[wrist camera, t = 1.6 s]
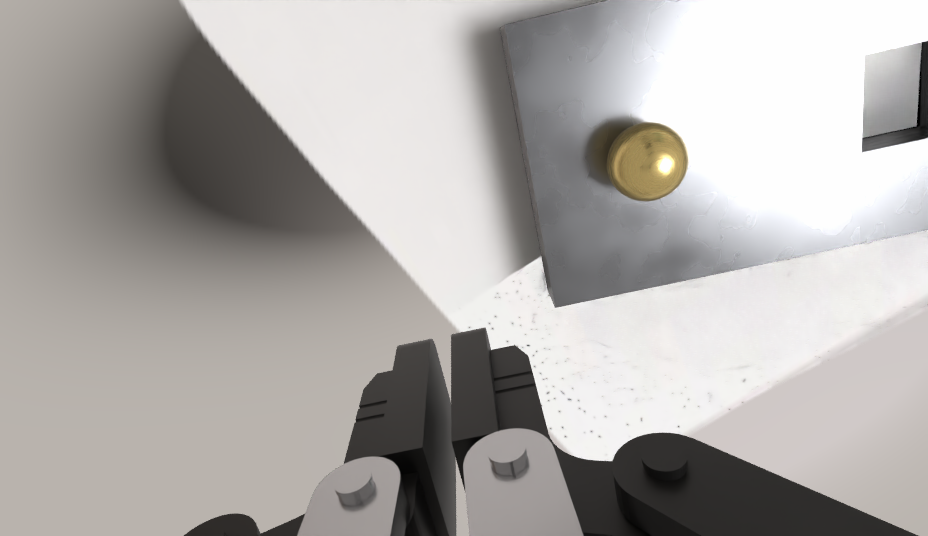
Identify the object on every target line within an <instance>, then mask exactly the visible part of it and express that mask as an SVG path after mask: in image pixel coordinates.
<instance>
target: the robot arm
mask: <svg viewBox="0 0 928 536" xmlns="http://www.w3.org/2000/svg"><path fill="white" fill-rule="evenodd" d="M359 407H360V409H358V412H357V416H356V423H355V424H354V428H353V431H352V435H351V439H350V442H349V446H348V450H347V453H346V457H345V461H344V464H343V465H341V466H340V467H338V468H336V469H335V470H333V471H332V472H331V473H329V474H328V475H327V476H326V477H325V478H324V479H323V480H322V481H321V482H320V483H319V485H318V486H317V487H316V489H315V491H314V493H313V495H312V497H311V500H310V503H309V505H308V508H307V511H306V513H305V514H303V515H301V516H299V517H297V518H296V519H293V520H291V521H289V522H287V523H284V524H282V525H280V526H277V527H275V528H273V529H270V530H268V531H266V532H264V533H261V534H260V532H259V529H258V527H257V525H256V523H255V522H254V520H253V519H252V518H250V517H249V516H246V515H243V514H227V515H222V516H219V517H216V518H214V519H211V520H209V521H206V522H204V523H202V524H201V525H199V526H197V527H195V528H194V529H192V530H191V531H189V532H188V533H187V534H185V535H184V536H456V465H455V457H456V460H457V464H458V467H459V471H460V475H461V478H462V482H463V485H464V489H465V493H466V503H467V514H468V524H469V536H918V535H915V534H913V533H911V532H908V531H906V530H904V529H901V528H899V527H897V526H894V525H892V524H890V523H888V522H885V521H883V520H881V519H878V518H876V517H874V516H871V515H869V514H867V513H864V512H862V511H860V510H857V509H855V508H853V507H850V506H848V505H846V504H844V503H841V502H839V501H837V500H834V499H832V498H830V497H827V496H825V495H823V494H820V493H818V492H815V491H813V490H811V489H809V488H807V487H804V486H802V485H800V484H797V483H795V482H792V481H790V480H788V479H785V478H783V477H781V476H779V475H776V474H774V473H772V472H769V471H767V470H765V469H763V468H760V467H758V466H756V465H753V464H751V463H749V462H746V461H744V460H742V459H739V458H737V457H735V456H732V455H730V454H728V453H725V452H723V451H721V450H719V449H716V448H714V447H712V446H709V445H707V444H705V443H702V442H700V441H697V440H695V439H693V438H690V437H687V436H684V435H680V434H674V433H651V434H646V435H642V436H639V437H636V438H634V439H632V440H630V441H628V442H627V443H625V444H624V445H623V446H622V447H621V448H620V449H619V450H618V451H617V453H616V454H615V456H614V459H613V462H612V461H594V460H586V459H581V458H577V457H574V456H571V455H569V454H567V453H565V452H563V451H562V450H560V449H559V448H558V447H557V446H556V445H555V444H554V443H553V442H552V440H551V439H550V436H549V434H548V430H547V426H546V422H545V419H544V415H543V411H542V407H541V403H540V399H539V396H538V392H537V388H536V384H535V380H534V376H533V373H532V369H531V365H530V361H529V357H528V355H526V354H525V353H524V352H523V351H521V350H520V349H519V348H518V347H516V346H515V345H514V346H509V347H504V348H499V349H494V350H491V348H490V344H489V339H488V335H487V331H486V328H480V329H476V330H471V331H466V332H461V333H456V334H452V335H451V402H450V398H449V394H448V391H447V387H446V384H445V379H444V376H443V372H442V368H441V365H440V361H439V358H438V353H437V350H436V347H435V344H434V341H433V339H428V340H423V341H418V342H413V343H409V344H404V345H399V346H398V347H397V350H396V356H395V361H394V366H393V370H392V371H388V372H383V373H378V374H376V375H375V377H374V378H373V379H372V380H371V381H370V383H369V384H368V385H367V386H366V387H365V388H364V390H363V394H362V397H361V401H360V405H359Z"/></svg>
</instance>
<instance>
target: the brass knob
mask: <svg viewBox="0 0 928 536" xmlns="http://www.w3.org/2000/svg"><path fill="white" fill-rule="evenodd" d="M688 164H689V155H688V150H687V146H686V144H685V142H684V140H683V139H682V137H681V136H680V135H679V134H678V133H677V132H676V131H675V130H674V129H672V128H671V127H669V126H667V125H664V124H661V123H656V122H644V123H639V124H636V125H633V126H631V127H629V128H627V129H626V130H624V131H623V132H622V133H621V134H620V135H619V136H618V137H617V138H616V139H615V140H614V142H613V143H612V145H611V147H610V149H609V152H608V156H607V171H608V175H609V178H610V180H611V182H612V184H613V185H614V187H615V188H616V189H617V190H618V191H619V192H620V193H621V194H623V195H624V196H626V197H628V198H630V199H633V200H637V201H654V200H658V199H661V198H663V197H665V196H667V195H669V194H670V193H672V192H673V191H674V190H675V189H676V188H677V187H678V186H679V185H680V184H681V182H682V181H683V179H684V177H685V175H686V173H687V169H688Z"/></svg>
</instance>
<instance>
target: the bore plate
mask: <svg viewBox="0 0 928 536" xmlns="http://www.w3.org/2000/svg"><path fill="white" fill-rule="evenodd" d="M500 31H501V37H502V42H503V48H504V53H505V59H506V64H507V70H508V75H509V81H510V86H511V92H512V97H513V103H514V108H515V114H516V119H517V125H518V130H519V136H520V141H521V147H522V152H523V158H524V163H525V169H526V174H527V180H528V185H529V190H530V196H531V201H532V207H533V212H534V218H535V223H536V229H537V234H538V240H539V245H540V251H541V256H542V262H543V267H544V273H545V278H546V284H547V289H548V292H549V294H550V296H551V299H552V301H553V304H554V306H555V308H556V307H561V306H566V305H571V304H575V303H580V302H585V301H590V300H595V299H599V298H604V297H609V296H614V295H619V294H623V293H628V292H633V291H638V290H643V289H647V288H652V287H657V286H662V285H666V284H671V283H676V282H681V281H686V280H690V279H695V278H700V277H705V276H710V275H714V274H719V273H724V272H729V271H734V270H738V269H743V268H748V267H753V266H758V265H762V264H767V263H772V262H777V261H781V260H786V259H791V258H796V257H801V256H805V255H810V254H815V253H820V252H825V251H829V250H834V249H839V248H844V247H849V246H853V245H858V244H863V243H868V242H873V241H877V240H882V239H887V238H892V237H896V236H901V235H906V234H911V233H916V232H920V231H925V230H928V0H607V1H602V2H598V3H594V4H590V5H586V6H581V7H577V8H573V9H569V10H565V11H560V12H556V13H552V14H548V15H544V16H539V17H535V18H531V19H527V20H523V21H518V22H514V23H510V24H506V25H504V26H502V27H501V28H500ZM920 42H922V47H921V63H920V79H919V95H918V111H917V126H915V127H911V128H906V129H901V130H897V131H892V132H888V133H883V134H879V135H874V136H869V137H865V138H862V126H863V91H864V57H865V55H867V54H872V53H876V52H880V51H885V50H889V49H894V48H898V47H902V46H907V45H911V44H916V43H920ZM644 122H656V123H661V124H664V125H667V126H669V127H671V128H672V129H674V130H675V131H676V132H677V133H678V134H679V135H680V136H681V137H682V139H683V140H684V142H685V144H686V146H687V150H688V155H689V164H688V169H687V173H686V175H685V177H684V179H683V181H682V182H681V184H680V185H679V186H678V187H677V188H676V189H675V190H674V191H673V192H672V193H670V194H669V195H667V196H665V197H663V198H661V199H658V200H654V201H637V200H633V199H630V198H628V197H626V196H624V195H623V194H621V193H620V192H619V191H618V190H617V189H616V188H615V187H614V185H613V184H612V182H611V180H610V178H609V175H608V171H607V156H608V152H609V149H610V147H611V145H612V143H613V142H614V140H615V139H616V138H617V137H618V136H619V135H620V134H621V133H622V132H623V131H624V130H626V129H627V128H629V127H631V126H633V125H636V124H639V123H644Z"/></svg>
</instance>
